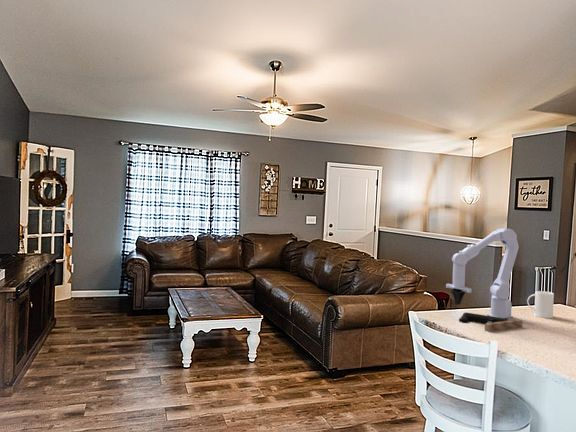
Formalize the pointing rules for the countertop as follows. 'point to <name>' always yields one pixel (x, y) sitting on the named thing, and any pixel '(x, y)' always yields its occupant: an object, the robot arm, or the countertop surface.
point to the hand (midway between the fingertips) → (457, 304)
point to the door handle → (480, 318)
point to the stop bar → (503, 325)
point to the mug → (543, 304)
